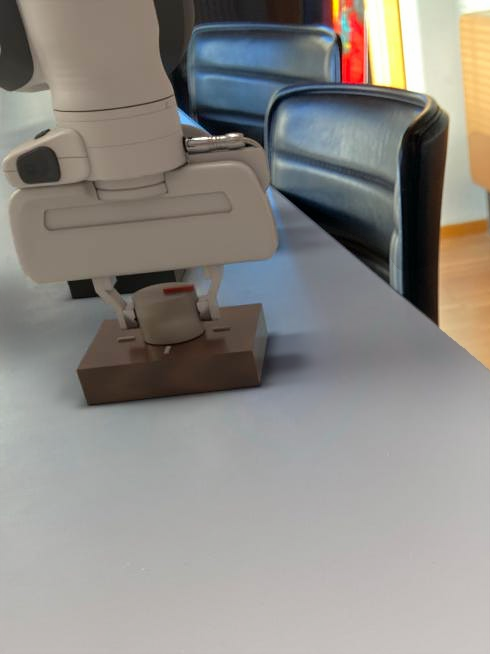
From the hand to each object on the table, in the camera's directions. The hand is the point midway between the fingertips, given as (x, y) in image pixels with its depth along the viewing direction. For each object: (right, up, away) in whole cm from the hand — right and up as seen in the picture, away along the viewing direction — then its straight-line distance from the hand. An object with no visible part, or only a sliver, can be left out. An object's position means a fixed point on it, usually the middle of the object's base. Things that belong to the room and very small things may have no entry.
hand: (171, 323), depth 85 cm
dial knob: (0, -1, +1) cm, 1 cm away
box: (-12, +13, +25) cm, 31 cm away
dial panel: (0, -3, +2) cm, 4 cm away
